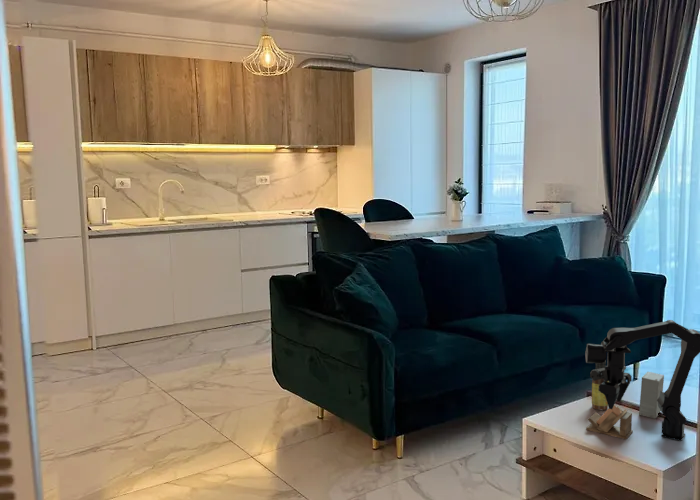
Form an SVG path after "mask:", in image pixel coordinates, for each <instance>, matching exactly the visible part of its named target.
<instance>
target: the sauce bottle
mask: <svg viewBox="0 0 700 500" xmlns="http://www.w3.org/2000/svg"><path fill="white" fill-rule="evenodd" d="M594 364H595V369H601V368H605V367H606V365H607V360H606V361H605V362H603V363H594ZM591 379H592V378H591ZM591 381H592V382H591V407H592V408H593V409H594V410H598V411H607V410H608V408H609V407H608V403H607V400H606V397H605V395H604V394H603V393H601V392H600V391H598V390H599V385H600V384H601V383H603V382H604V379H599V380H596V381H593V379H592V380H591ZM605 382H609V381H605Z"/></svg>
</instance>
